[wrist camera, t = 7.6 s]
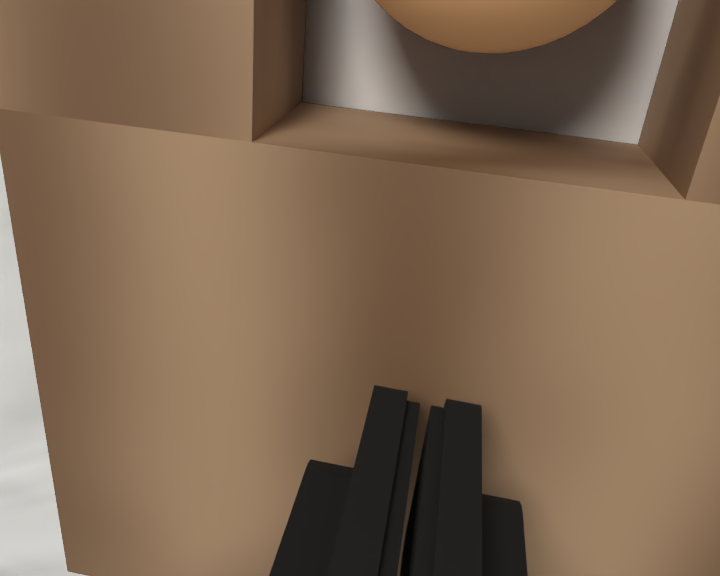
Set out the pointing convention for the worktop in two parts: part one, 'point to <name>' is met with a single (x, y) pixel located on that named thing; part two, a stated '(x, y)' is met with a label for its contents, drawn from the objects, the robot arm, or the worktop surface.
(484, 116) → the worktop surface
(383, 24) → the worktop surface
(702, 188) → the board
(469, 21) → the ball
